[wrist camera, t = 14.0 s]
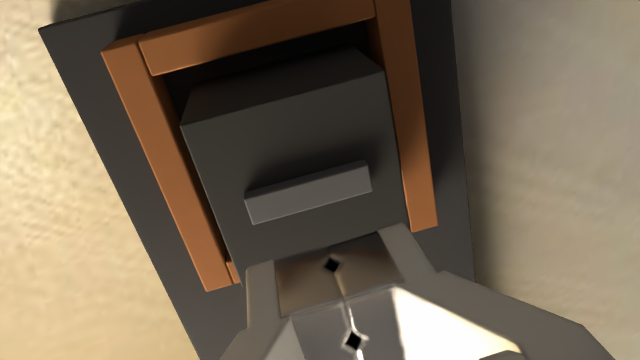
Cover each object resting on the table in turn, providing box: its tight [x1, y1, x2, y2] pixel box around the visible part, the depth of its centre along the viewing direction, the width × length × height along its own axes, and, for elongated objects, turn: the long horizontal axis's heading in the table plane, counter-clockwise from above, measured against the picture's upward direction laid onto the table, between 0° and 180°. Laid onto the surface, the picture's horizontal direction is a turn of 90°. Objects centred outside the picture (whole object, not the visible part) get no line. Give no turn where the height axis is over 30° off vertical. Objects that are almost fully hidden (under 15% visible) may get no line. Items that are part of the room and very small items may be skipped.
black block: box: [180, 43, 411, 287], centre depth 14 cm, size 5×5×4 cm
